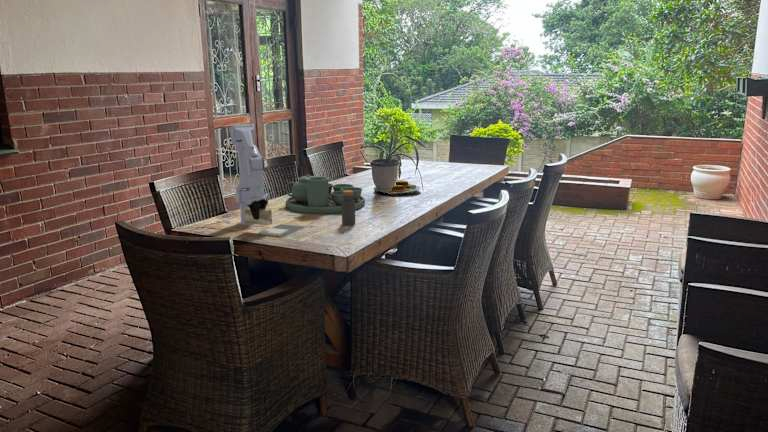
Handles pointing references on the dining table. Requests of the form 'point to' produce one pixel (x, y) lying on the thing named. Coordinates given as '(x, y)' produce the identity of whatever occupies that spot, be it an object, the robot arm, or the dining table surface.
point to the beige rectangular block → (264, 217)
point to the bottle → (348, 208)
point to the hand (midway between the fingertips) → (258, 218)
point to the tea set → (320, 195)
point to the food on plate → (403, 187)
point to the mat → (287, 227)
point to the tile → (274, 232)
